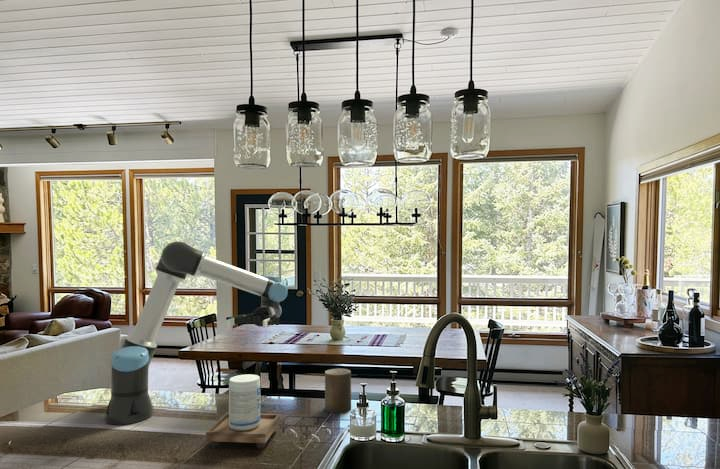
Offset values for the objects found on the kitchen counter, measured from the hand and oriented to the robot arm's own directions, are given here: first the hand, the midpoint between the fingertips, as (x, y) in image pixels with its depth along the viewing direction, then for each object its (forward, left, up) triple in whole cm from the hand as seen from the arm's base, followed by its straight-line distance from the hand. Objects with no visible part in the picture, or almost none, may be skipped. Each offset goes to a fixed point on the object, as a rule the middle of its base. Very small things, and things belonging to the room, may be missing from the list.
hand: (245, 324), depth 162 cm
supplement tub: (+7, -20, -28) cm, 35 cm away
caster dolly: (+7, -20, -32) cm, 38 cm away
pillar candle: (+32, +9, -32) cm, 46 cm away
